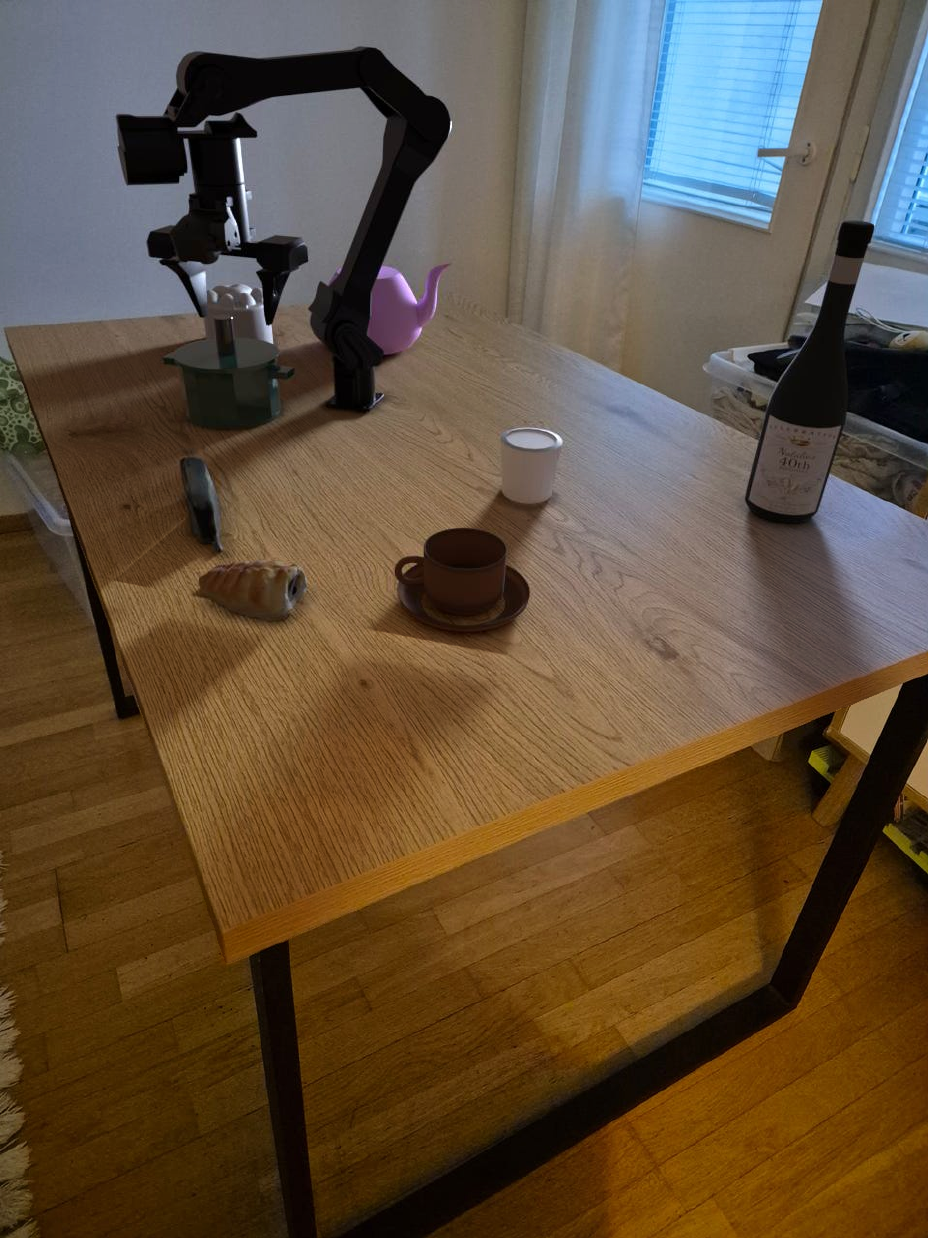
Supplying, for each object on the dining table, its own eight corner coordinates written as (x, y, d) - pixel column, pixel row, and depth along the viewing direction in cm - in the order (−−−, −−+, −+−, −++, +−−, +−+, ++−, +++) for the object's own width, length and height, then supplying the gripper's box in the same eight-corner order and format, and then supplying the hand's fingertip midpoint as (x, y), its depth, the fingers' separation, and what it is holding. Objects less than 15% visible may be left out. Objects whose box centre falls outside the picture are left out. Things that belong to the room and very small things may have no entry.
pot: (198, 389, 121) (190, 336, 117) (313, 404, 118) (309, 350, 114) (150, 419, 111) (139, 363, 107) (274, 437, 108) (268, 379, 104)
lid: (207, 341, 117) (201, 298, 114) (297, 352, 115) (293, 309, 111) (154, 371, 107) (145, 325, 103) (251, 384, 104) (245, 337, 101)
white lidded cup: (562, 489, 98) (569, 432, 94) (548, 514, 93) (554, 455, 89) (506, 479, 100) (510, 422, 96) (488, 503, 95) (492, 444, 91)
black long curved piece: (174, 454, 91) (191, 512, 80) (202, 451, 92) (223, 508, 81) (181, 496, 94) (199, 558, 82) (209, 492, 95) (230, 553, 83)
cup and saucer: (426, 657, 71) (426, 595, 68) (379, 585, 80) (378, 527, 76) (551, 627, 75) (558, 568, 72) (494, 562, 84) (497, 507, 81)
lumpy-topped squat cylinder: (266, 331, 145) (260, 278, 140) (279, 354, 135) (274, 298, 130) (203, 335, 142) (196, 281, 137) (213, 359, 132) (205, 302, 127)
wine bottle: (814, 532, 92) (907, 233, 75) (739, 518, 94) (812, 224, 77) (816, 501, 98) (901, 219, 81) (746, 489, 100) (814, 211, 83)
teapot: (447, 370, 132) (449, 276, 124) (307, 364, 132) (301, 270, 124) (450, 329, 150) (452, 245, 142) (328, 324, 150) (323, 240, 142)
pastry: (187, 610, 75) (180, 574, 73) (221, 573, 81) (216, 538, 79) (286, 626, 74) (283, 589, 72) (314, 587, 79) (311, 551, 77)
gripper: (105, 185, 93) (133, 329, 102) (259, 198, 89) (274, 347, 98) (162, 173, 102) (183, 306, 111) (305, 184, 98) (314, 322, 107)
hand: (236, 320), depth 106 cm, fingers open, 9 cm apart
